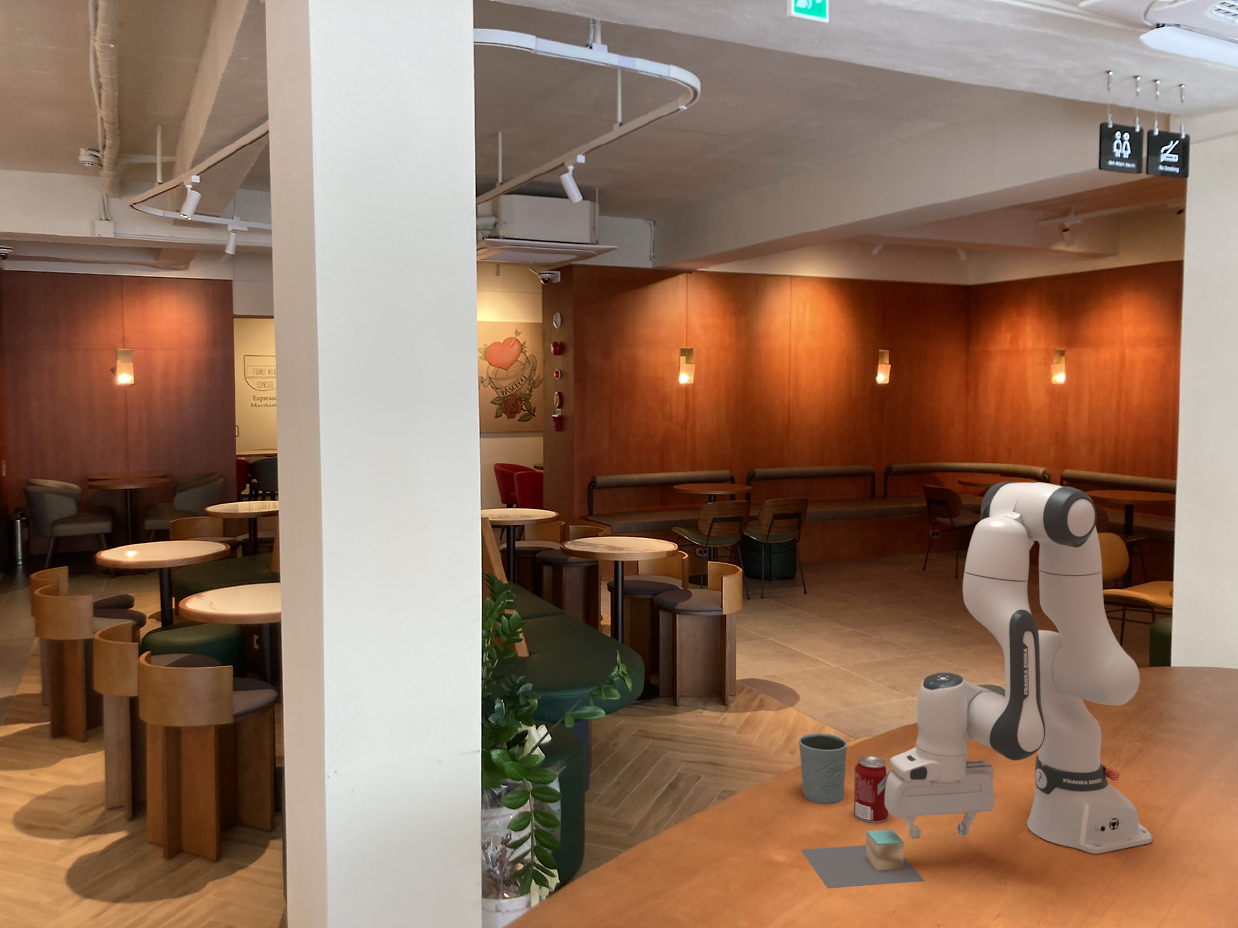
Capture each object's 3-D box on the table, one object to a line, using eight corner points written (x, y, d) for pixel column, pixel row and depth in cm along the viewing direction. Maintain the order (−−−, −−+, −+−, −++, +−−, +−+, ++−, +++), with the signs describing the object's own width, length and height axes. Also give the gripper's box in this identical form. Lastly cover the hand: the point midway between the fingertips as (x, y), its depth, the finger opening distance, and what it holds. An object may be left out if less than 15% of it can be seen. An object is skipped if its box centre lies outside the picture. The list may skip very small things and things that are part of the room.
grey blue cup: (846, 807, 197) (847, 751, 196) (797, 803, 199) (798, 747, 198) (845, 787, 207) (846, 734, 206) (798, 783, 209) (799, 731, 208)
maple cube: (891, 855, 175) (892, 829, 175) (903, 868, 170) (903, 841, 170) (865, 856, 175) (866, 830, 174) (877, 870, 170) (877, 843, 169)
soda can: (869, 828, 187) (870, 769, 187) (846, 814, 193) (848, 758, 193) (895, 821, 191) (896, 763, 190) (871, 808, 197) (873, 752, 196)
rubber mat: (891, 846, 180) (891, 843, 180) (925, 883, 166) (925, 880, 166) (800, 852, 177) (800, 849, 177) (827, 891, 164) (827, 887, 164)
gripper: (984, 753, 177) (982, 823, 178) (881, 758, 174) (880, 830, 175) (1002, 766, 171) (1000, 839, 172) (896, 772, 168) (894, 846, 169)
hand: (938, 835), depth 174 cm, fingers open, 8 cm apart
